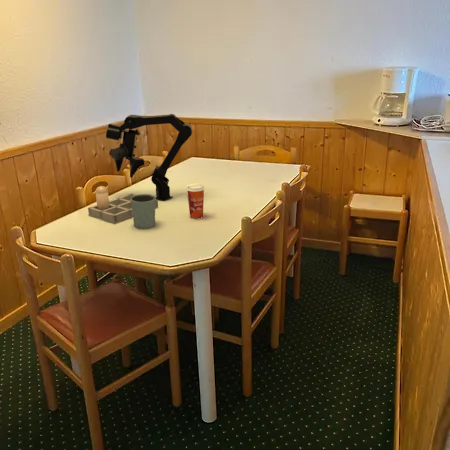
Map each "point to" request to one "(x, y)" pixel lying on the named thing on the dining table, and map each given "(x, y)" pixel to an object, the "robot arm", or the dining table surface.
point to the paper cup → (195, 200)
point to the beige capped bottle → (102, 198)
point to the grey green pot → (143, 210)
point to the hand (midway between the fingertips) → (124, 174)
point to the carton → (115, 210)
